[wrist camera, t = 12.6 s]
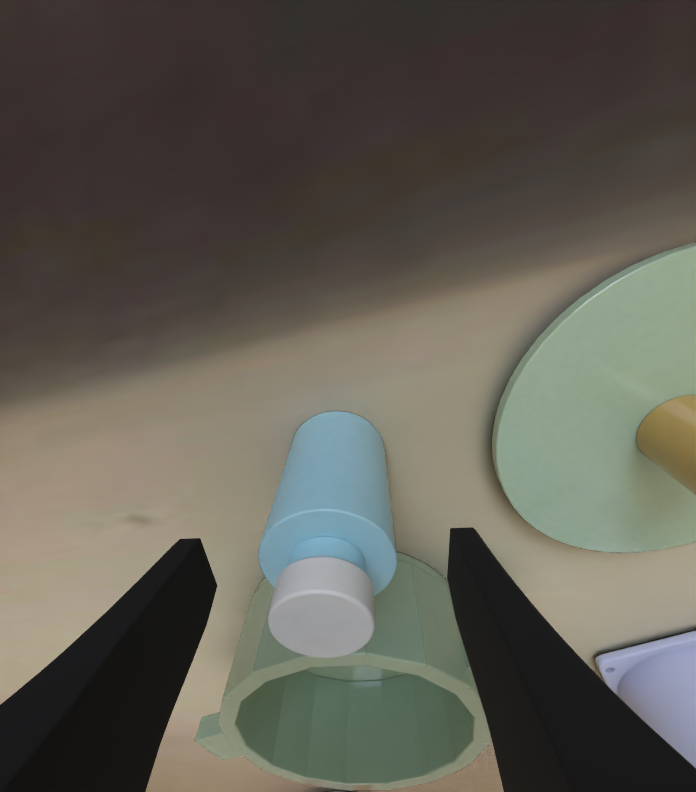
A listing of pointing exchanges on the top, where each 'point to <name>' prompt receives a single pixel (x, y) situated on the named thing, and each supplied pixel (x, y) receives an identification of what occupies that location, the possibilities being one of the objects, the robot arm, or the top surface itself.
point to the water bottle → (329, 537)
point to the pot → (356, 696)
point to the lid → (609, 415)
